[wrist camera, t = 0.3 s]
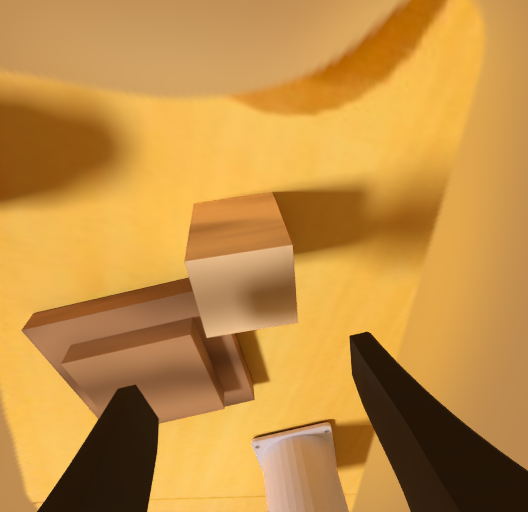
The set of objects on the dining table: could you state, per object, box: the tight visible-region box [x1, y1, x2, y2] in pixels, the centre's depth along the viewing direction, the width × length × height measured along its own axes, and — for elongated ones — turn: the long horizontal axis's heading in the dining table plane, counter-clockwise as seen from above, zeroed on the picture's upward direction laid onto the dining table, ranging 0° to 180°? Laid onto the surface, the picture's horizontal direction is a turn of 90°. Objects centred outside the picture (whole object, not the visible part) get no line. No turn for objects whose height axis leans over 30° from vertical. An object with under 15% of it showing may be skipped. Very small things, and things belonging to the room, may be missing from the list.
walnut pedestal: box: [22, 278, 255, 423], centre depth 23 cm, size 12×12×3 cm
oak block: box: [184, 192, 298, 338], centre depth 17 cm, size 4×4×6 cm
